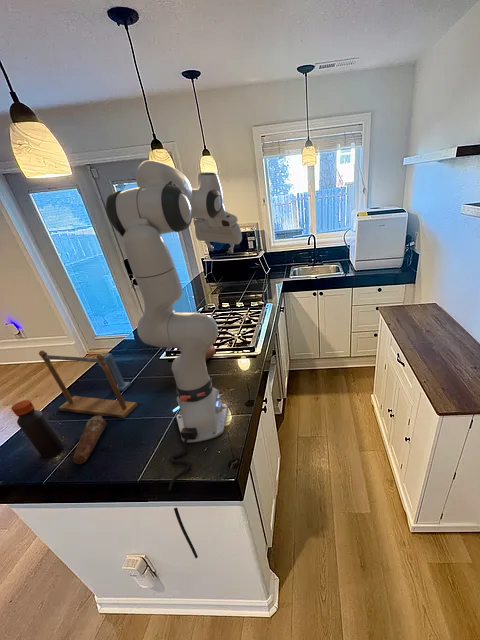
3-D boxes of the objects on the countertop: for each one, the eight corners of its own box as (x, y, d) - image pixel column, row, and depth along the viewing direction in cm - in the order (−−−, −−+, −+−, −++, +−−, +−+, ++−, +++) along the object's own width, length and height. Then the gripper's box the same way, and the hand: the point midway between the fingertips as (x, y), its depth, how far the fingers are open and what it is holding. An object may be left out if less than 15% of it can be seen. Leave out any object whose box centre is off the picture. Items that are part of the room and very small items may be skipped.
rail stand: (137, 405, 125) (113, 349, 111) (124, 418, 118) (96, 360, 105) (75, 398, 133) (45, 345, 119) (60, 410, 126) (26, 355, 112)
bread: (110, 425, 115) (103, 413, 112) (89, 465, 100) (81, 452, 96) (92, 428, 115) (85, 416, 112) (68, 468, 99) (60, 455, 96)
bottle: (69, 445, 108) (39, 399, 97) (52, 460, 103) (18, 412, 91) (54, 443, 110) (22, 397, 99) (37, 457, 104) (1, 410, 93)
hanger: (121, 383, 140) (107, 351, 131) (131, 384, 138) (117, 351, 129) (109, 393, 134) (93, 360, 125) (120, 394, 132) (104, 360, 123)
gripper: (188, 219, 128) (196, 252, 139) (235, 223, 124) (240, 257, 135) (195, 213, 133) (203, 246, 143) (241, 217, 128) (245, 250, 139)
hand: (221, 251), depth 139 cm, fingers open, 8 cm apart
